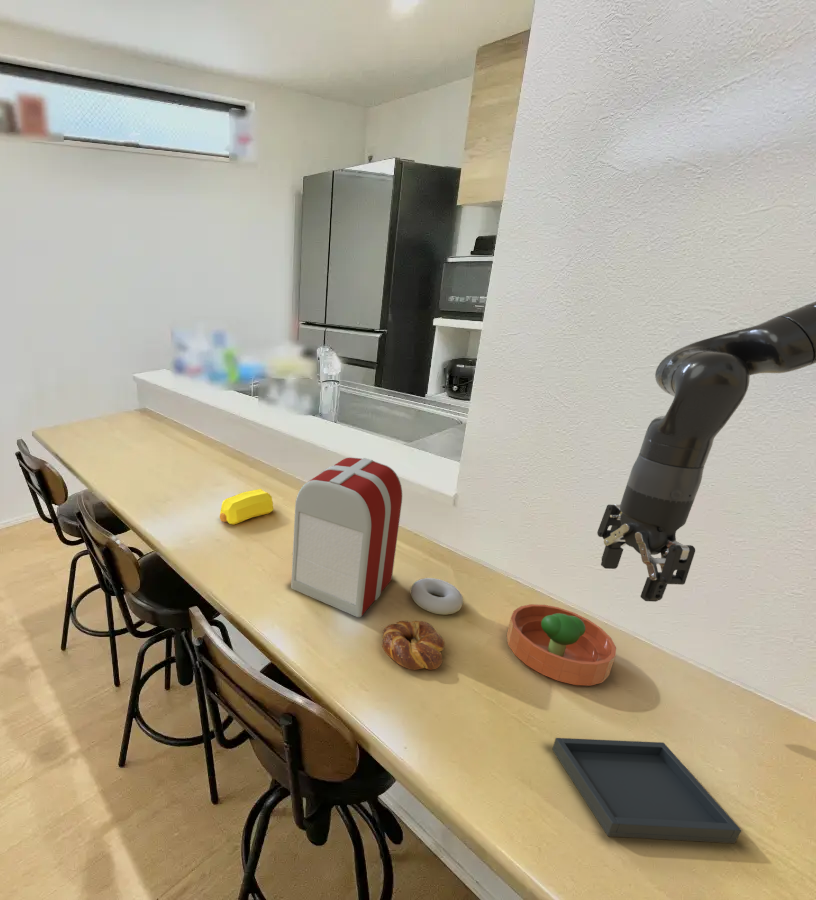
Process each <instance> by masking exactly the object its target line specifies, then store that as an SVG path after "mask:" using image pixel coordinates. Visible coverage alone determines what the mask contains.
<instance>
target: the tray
mask: <svg viewBox="0 0 816 900" xmlns="http://www.w3.org/2000/svg"><path fill="white" fill-rule="evenodd" d="M552 751H553V753H554V754H555V756H556V758H557V759H558V761H559V762H560V764H561V766H563V769H564V770H565V772H566V773H567V775H568V777H569V778H570V779H571V782H572V783H573V785H574V786H575V788H576V789H577V791H578V792H579V794H580V795H581V797H582V798H583V800H584V802H585V803H586V805H587V806H588V808H589V810H590V811H591V812H592V814H593V816H594V817H595V819H596V821H597V822H598V824H599V825H600V827H601V828H602V829H603V832H604V833H605V834H606V837H613V838H614V837H615V838H633V839H652V840H668V841H669V840H670V841H689V842H706V843H724V844H735V843H736V842H737V840H738V839H739V837H740V835H741V833H742V829H741V828H740V827H739V826H738V824H737V823H736V822H735V821H734V820H733V819H732V818H731V817H730V816H729V815H728V813H727V812H726V811H725V809H723V808H722V806H720V804H719V803H718V802H717V801H716V800H715V799H714V797H713V796H712V795H711V794H710V793H709V792H708V791H707V790H706V789H705V787H704V786H703V785H702V784H701V783H700V782H699V781H698V779H696V777H695V776H694V775H693V774H692V773H691V772H690V770H689V769H688V768H687V767H686V766H685V765H684V763H683V762H681V760H680V759H679V758H678V757H677V756H676V754H674V752H673V751H672V750H671V749H670V748H669V747H668V746H667V745H666V743H665V742H664V741H663V742H661V741H639V740H637V741H634V740H615V739H614V740H613V739H594V738H593V739H592V738H571V737H570V738H569V737H555V739H554V741H553V746H552Z"/></svg>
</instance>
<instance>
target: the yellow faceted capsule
mask: <svg viewBox="0 0 816 900" xmlns="http://www.w3.org/2000/svg"><path fill="white" fill-rule="evenodd" d="M273 511H274V501H273V496H272V495H271V494H270V493H269V492H267V491H265V490H263V489H262V488H258V489H253V490H247V491H243V492H239V493H238V494H235V495H233V496H230V497H227V498H225V499H224V500H223V501H222V503H221V507H220V512H219V519H220V521H221V523H222V522H224V523H228V524H229V525H233V526H234V525H237V524H240V523H242V522H244V521H247V520H249V519H251V518H255V517H259V516H264V515H268V514H270V513H272V512H273Z"/></svg>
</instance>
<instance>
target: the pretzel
mask: <svg viewBox="0 0 816 900" xmlns="http://www.w3.org/2000/svg"><path fill="white" fill-rule="evenodd" d="M381 638H382V641H381V647H382V649H383V650H384V652H385V654H387V656H388V657H389V658H390V659H392V660H393V661H394V662H395V663H396V664H397V665H399V666H401V667H403V668H406V669H408V670H415V671H416V670H422V669H426V670H428V671H429V670H430V671H431V670H432V671H433V670H436V669H438V668H440V667H441V666H442V664H443V654H442V653H441V651H444V650H445V641H444V638H443V636H441V635H440V634H439V633H438V632H437V631H436V629H435V628H434V626H432V624H431V623H429V622H427V621H423V620H414V621H409V620H399V621H397V622H395V623H391V624H387V625H386V626H385V627H384V628H383V630H382V635H381Z"/></svg>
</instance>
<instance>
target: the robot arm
mask: <svg viewBox="0 0 816 900" xmlns="http://www.w3.org/2000/svg"><path fill="white" fill-rule="evenodd" d="M815 364H816V301H813V302H810V303H807V304H805V305H802V306H800V307H797V308H795V309H792V310H791V311H787V312H785V313H783V314H780V315H777V316H775V317H772V318H771V319H768V320H766V321H764V322H761V323H759V324H756V325H753V326H749V327H746V328H742V329H738V330H733V331H729V332H726V333H723V334H719V335H716V336H712V337H708V338H705V339H701V340H699V341H695V342H693V343H689V344H686V345H685V346H681V347H680V348H677V349H676V350H674V351H672V352H671V353H669V354H668V355H667V356H665V357H664V358H663V359H662V360H661V361H660V362H659V364H658V365H657V367H656V369H655V373H654V374H655V375H654V379H655V382H656V384H657V386H658V387H659V388H660V389H661V390H662V391H663V392H665V393H666V394H668V395H671V396H672V397H673V400H672V402H671V404H670V406H669V407H668V410H667V412H666V414H665V415H659V416H657V417H655V418H654V419H652V420H651V421H650V422H649V425H648V426H647V429H646V431H645V435H644V437H643V440H642V443H641V446H640V449H639V453H638V455H637V457H636V459H635V461H634V462H633V465H632V468H631V470H630V474H629V477H628V479H627V483H626V485H625V488H624V492H623V495H622V498H621V502H620V504H607V505H606V507H605V510H604V513H603V514H602V518H601V521H600V523H599V526H598V529H597V532H596V535H597V536H598V537H599V538H602V539H603V544H604V549H603V552H602V555H601V562H600V565H601V566H602V568H603V569H605V570H606V569H607V570H608V569H609V570H616V569H617V568H618V567H619V564H620V562H621V558H622V555H623V552H624V548H622V547H625V546H626V545H627V546H629V547H631V548H633V549H634V550H635V552H637V553H638V554H640V558H641V562H642V563H643V564H644V565H645V566H646V569H647V573H648V576H647V577H646V580H645V582H644V585H643V588H642V590H641V592H640V593H641V594H640V598H641V600H643V601H645V602H653V603H654V602H658V601H661V600H662V599H663V597H664V595H665V592H666V590H667V587H668V585H678V586H679V585H681V586H683V585H685V584H686V583H687V582H686V581H687V578H688V576H689V572H690V569H691V567H692V562H693V560H694V557H695V554H696V548H695V547H694V546H693V545H692V544H683V543H681V542H680V541H677V539H676V538H677V537H676V533H677V531H678V530H679V529H681V528H682V527H684V526H685V525H686V523H687V520H688V518H689V516H690V512H691V510H692V507H693V504H694V502H695V499H696V496H697V494H698V491H699V489H700V486H701V483H702V480H703V473H704V469H705V466H706V463H707V460H708V458H709V455H710V452H711V450H712V447H713V444H714V440H715V438H716V436H717V435H718V434H719V433H720V432H721V430H722V429H723V428H724V427H725V426H726V425H727V423H728V421H729V420H730V419H731V417H733V415H734V413H735V412H736V410H737V409H738V408H739V406H740V405H741V403H742V402H743V400H744V399H745V397H746V394H747V392H748V390H749V385H750V381H751V379H750V376H752V375H757V374H786V373H790V372H794V371H797V370H800V369H803V368H806V367H808V366H812V365H815ZM609 527H611V528H610V529H609ZM659 554H660V557H653V556H655V555H659ZM658 565H659V567H660V570H661V571H659V570H658ZM675 571H676V572H675ZM674 573H675V574H674Z"/></svg>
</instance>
